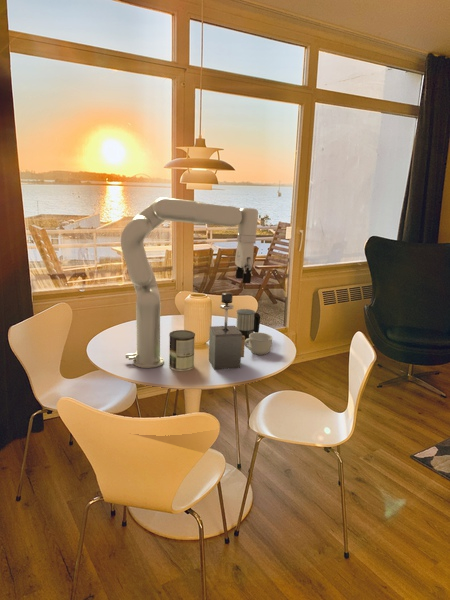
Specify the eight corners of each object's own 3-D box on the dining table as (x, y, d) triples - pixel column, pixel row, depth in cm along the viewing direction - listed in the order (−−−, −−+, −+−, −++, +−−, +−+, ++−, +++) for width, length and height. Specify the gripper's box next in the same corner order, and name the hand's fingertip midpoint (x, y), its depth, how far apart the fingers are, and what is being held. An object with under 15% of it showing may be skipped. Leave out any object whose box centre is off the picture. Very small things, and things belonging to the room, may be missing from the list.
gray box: (214, 369, 175) (215, 334, 172) (208, 359, 186) (209, 326, 182) (246, 367, 179) (248, 333, 175) (239, 358, 189) (240, 325, 185)
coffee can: (164, 368, 174) (164, 335, 171) (176, 360, 184) (176, 328, 180) (187, 373, 171) (188, 339, 168) (198, 364, 180) (199, 332, 177)
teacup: (265, 347, 204) (266, 331, 202) (275, 355, 194) (277, 338, 192) (237, 350, 199) (238, 333, 197) (247, 358, 189) (248, 341, 187)
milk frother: (247, 344, 207) (249, 314, 204) (220, 338, 215) (221, 309, 212) (261, 337, 219) (263, 308, 216) (234, 331, 227) (235, 303, 223)
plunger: (218, 340, 174) (219, 296, 170) (213, 333, 182) (215, 291, 177) (237, 339, 176) (239, 295, 172) (232, 333, 184) (234, 291, 179)
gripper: (231, 236, 182) (228, 276, 186) (244, 241, 166) (240, 284, 169) (248, 237, 184) (245, 277, 188) (262, 242, 168) (258, 285, 171)
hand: (242, 280), depth 179 cm, fingers open, 9 cm apart
